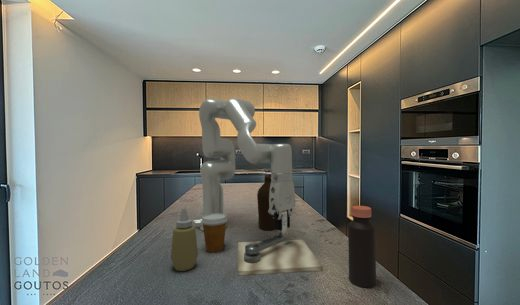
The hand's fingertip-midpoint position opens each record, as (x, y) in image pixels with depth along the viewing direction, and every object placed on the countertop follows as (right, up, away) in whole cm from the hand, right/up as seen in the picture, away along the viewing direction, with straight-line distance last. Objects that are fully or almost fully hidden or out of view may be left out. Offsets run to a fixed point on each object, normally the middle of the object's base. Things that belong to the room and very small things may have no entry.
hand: (282, 227), depth 86 cm
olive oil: (-4, -8, +25) cm, 27 cm away
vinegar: (+20, -8, -22) cm, 30 cm away
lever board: (-3, -8, -6) cm, 10 cm away
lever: (-5, -5, -5) cm, 9 cm away
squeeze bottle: (-31, -8, -13) cm, 35 cm away
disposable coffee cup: (-25, -8, +1) cm, 26 cm away
